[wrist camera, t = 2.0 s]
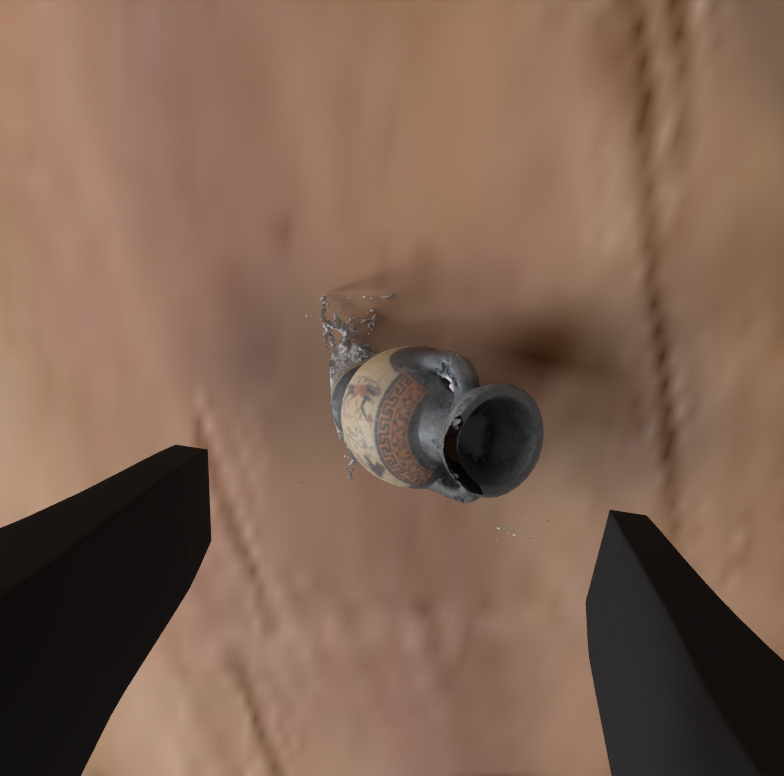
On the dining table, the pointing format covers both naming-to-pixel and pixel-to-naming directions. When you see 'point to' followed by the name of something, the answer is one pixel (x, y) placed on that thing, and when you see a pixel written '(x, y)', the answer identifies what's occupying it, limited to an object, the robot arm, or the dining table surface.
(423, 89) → the dining table surface
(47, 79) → the dining table surface
